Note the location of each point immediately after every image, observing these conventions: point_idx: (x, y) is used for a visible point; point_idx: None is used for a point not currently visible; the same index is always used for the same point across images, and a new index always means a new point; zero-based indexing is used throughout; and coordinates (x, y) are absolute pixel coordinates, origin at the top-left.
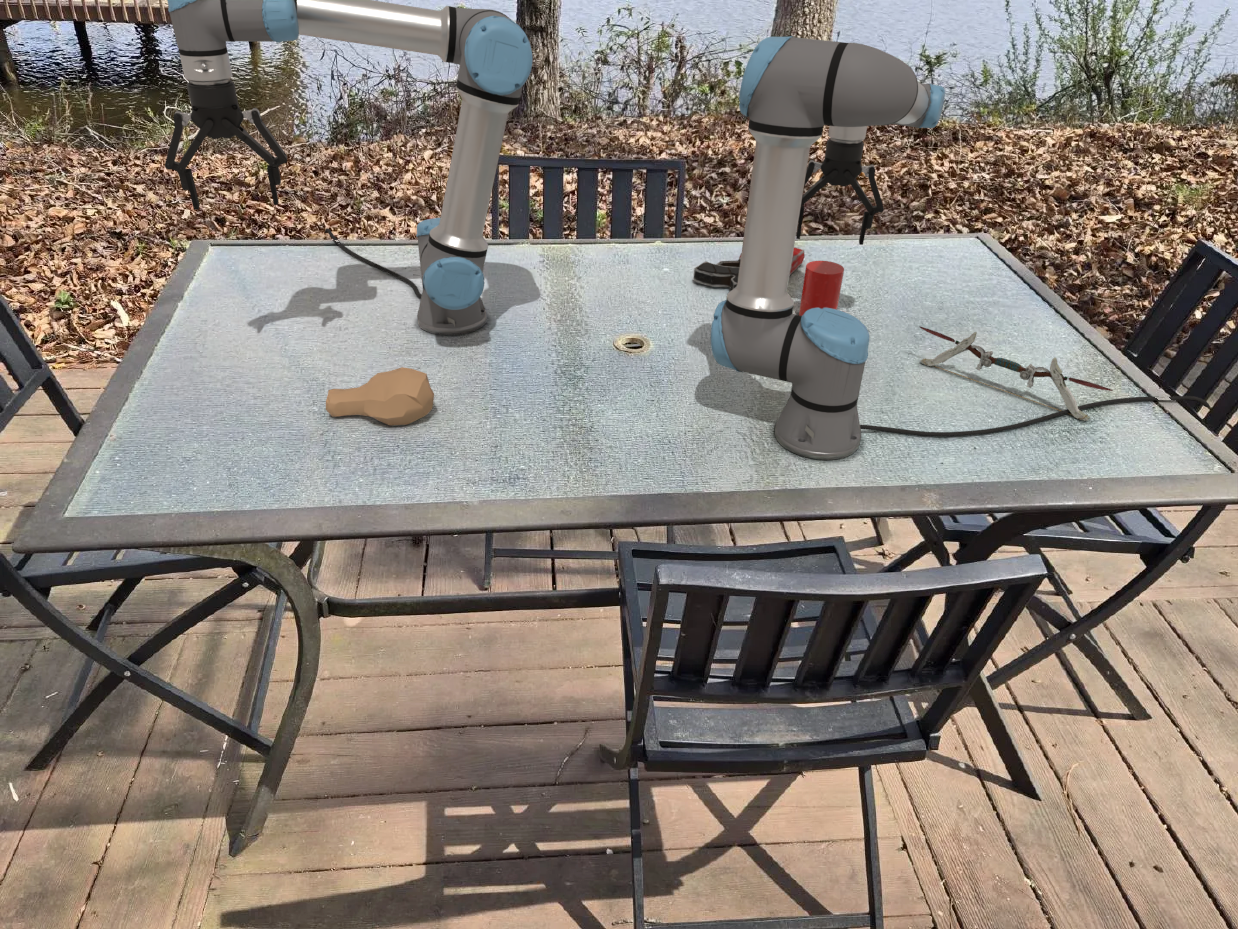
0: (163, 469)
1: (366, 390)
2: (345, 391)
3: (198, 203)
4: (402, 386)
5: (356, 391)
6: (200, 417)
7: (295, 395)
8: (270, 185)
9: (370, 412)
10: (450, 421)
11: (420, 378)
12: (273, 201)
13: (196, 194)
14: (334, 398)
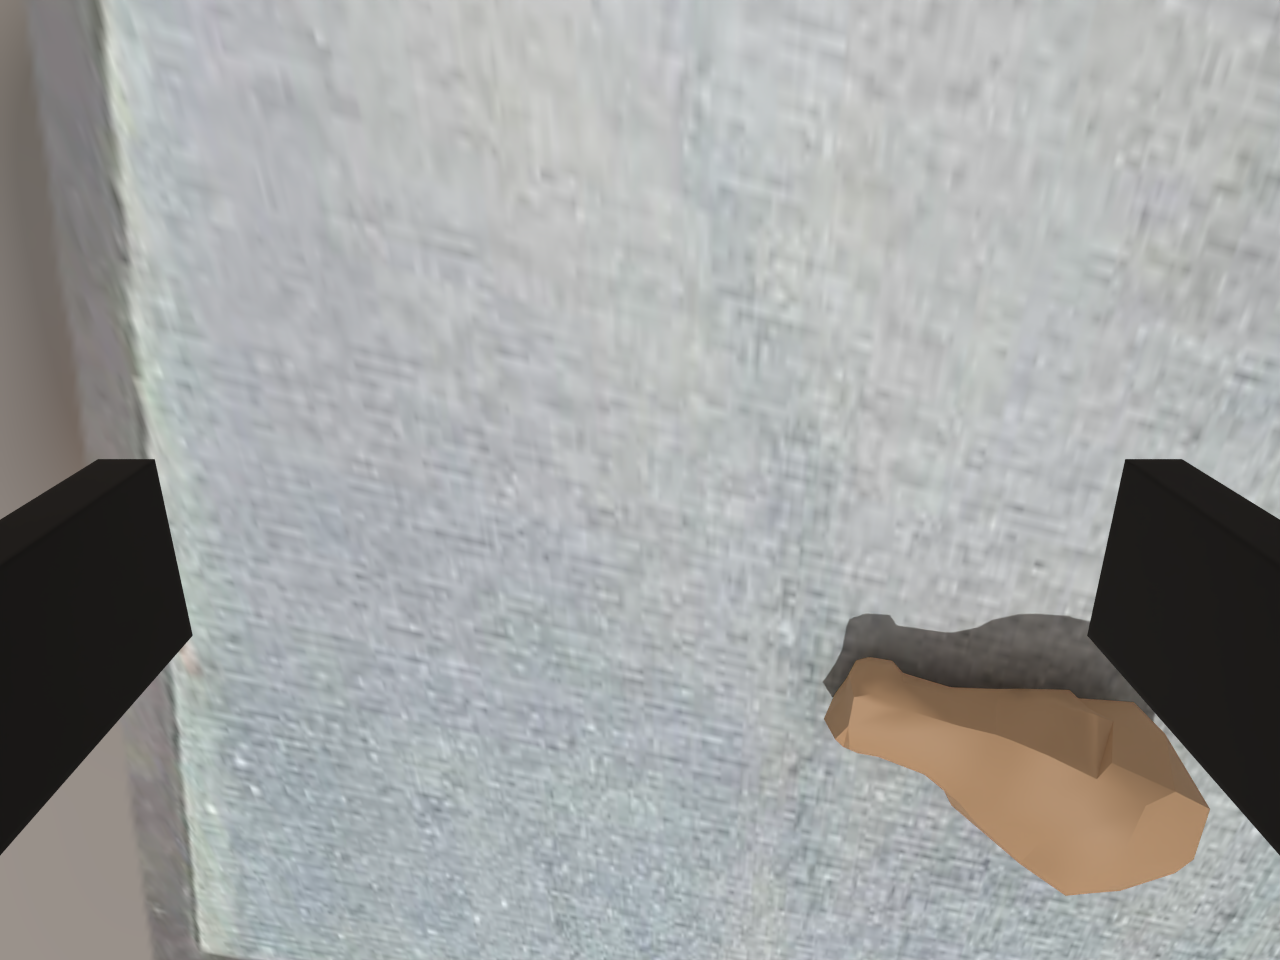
0: (380, 833)
1: (980, 796)
2: (909, 730)
3: (147, 550)
4: (1103, 884)
5: (945, 764)
6: (426, 602)
7: (727, 533)
8: (1247, 814)
9: (957, 809)
10: None
11: (1178, 862)
12: (1111, 662)
13: (72, 594)
14: (866, 747)
